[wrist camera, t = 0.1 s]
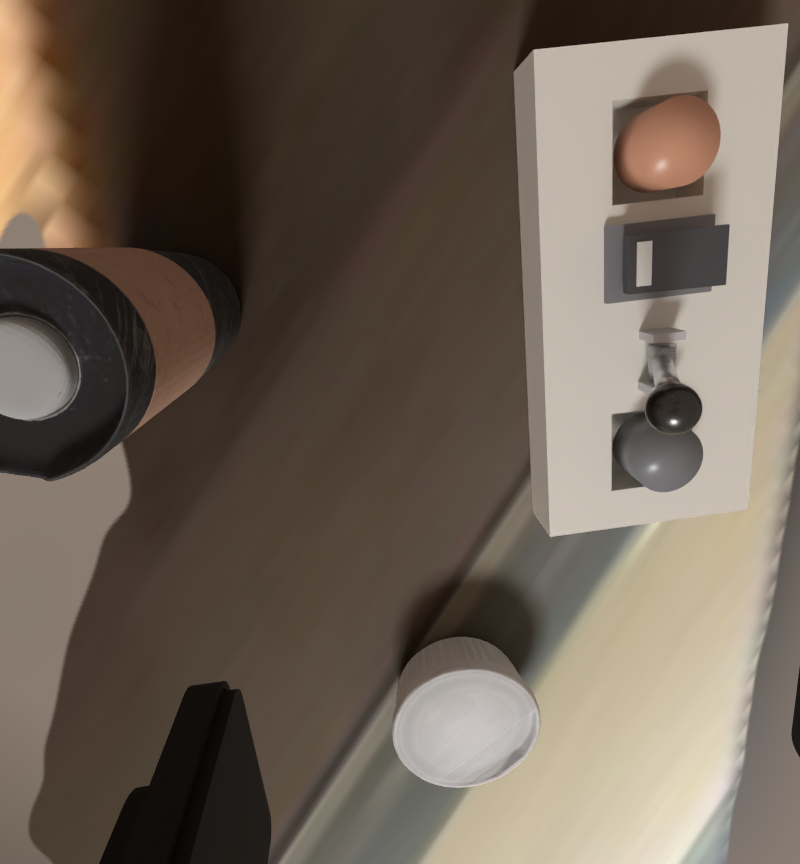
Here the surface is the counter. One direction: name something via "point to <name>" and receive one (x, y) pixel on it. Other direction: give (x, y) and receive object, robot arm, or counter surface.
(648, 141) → the terracotta button
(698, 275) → the black rocker
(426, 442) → the counter surface
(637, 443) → the charcoal button
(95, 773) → the counter surface
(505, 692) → the ramekin
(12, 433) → the travel mug
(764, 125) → the control panel
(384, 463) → the counter surface
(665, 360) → the toggle lever
